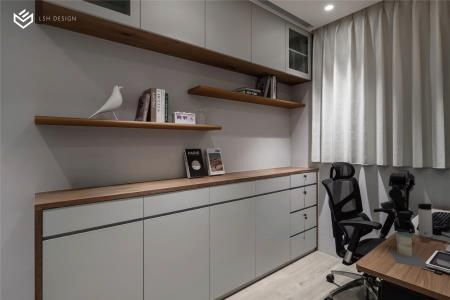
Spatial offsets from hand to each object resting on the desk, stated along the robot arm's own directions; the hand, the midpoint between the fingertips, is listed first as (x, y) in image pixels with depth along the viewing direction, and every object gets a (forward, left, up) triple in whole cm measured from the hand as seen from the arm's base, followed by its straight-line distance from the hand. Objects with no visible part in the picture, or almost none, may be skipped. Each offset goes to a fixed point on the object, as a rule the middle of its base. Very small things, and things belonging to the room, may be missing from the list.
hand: (400, 226), depth 126 cm
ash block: (+7, 0, -11) cm, 13 cm away
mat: (+12, 0, -12) cm, 17 cm away
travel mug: (-27, +19, -12) cm, 35 cm away
